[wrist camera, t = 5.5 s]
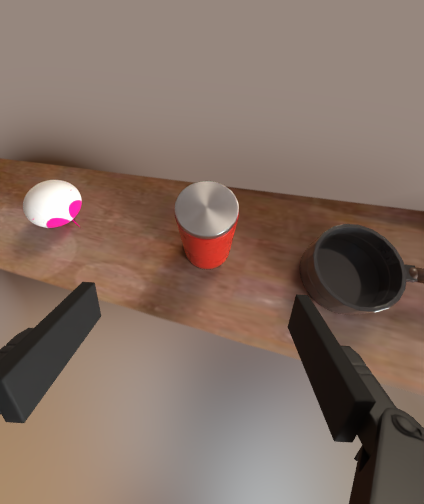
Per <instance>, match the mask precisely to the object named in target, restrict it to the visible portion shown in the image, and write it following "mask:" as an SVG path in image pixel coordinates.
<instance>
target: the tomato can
mask: <svg viewBox="0 0 424 504" xmlns="http://www.w3.org/2000/svg"><path fill="white" fill-rule="evenodd" d="M238 216H239V205H238V201H237V199H236V197H235V195H234V194H233V192H232V191H231V190H230V189H228V188H227V187H226V186H224V185H222V184H220V183H217V182H212V181H201V182H197V183H194V184H191V185H189V186H188V187H186V188H185V189H184V190H183V191H182V192H181V193H180V194H179V196H178V198H177V200H176V203H175V218H176V222H177V225H178V229H179V233H180V236H181V240H182V243H183V247H184V250H185V254H186V256H187V258H188V259H189V261H190V262H191V263H192V264H193V265H194V266H196V267H198V268H200V269H206V270H208V269H214V268H217V267H218V266H220V265H221V264H223V263H224V261H225V260H226V259H227V257H228V255H229V251H230V248H231V244H232V240H233V236H234V232H235V229H236V225H237V221H238Z"/></svg>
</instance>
